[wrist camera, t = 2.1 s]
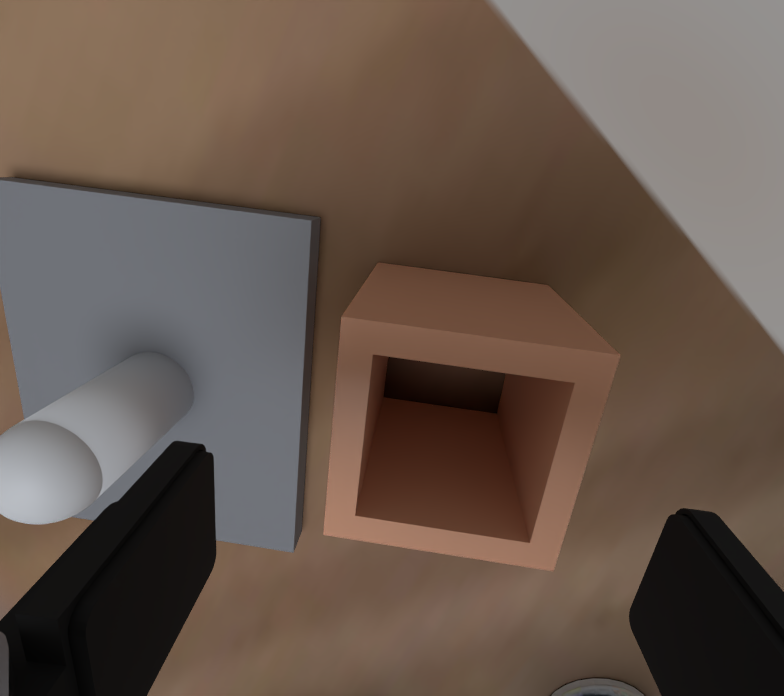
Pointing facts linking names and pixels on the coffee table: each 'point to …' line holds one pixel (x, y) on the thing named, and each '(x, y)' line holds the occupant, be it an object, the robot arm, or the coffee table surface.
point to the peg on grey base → (156, 351)
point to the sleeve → (464, 417)
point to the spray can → (597, 688)
